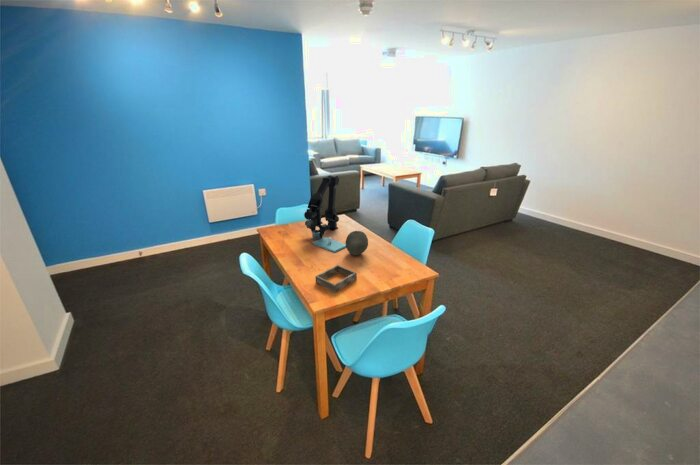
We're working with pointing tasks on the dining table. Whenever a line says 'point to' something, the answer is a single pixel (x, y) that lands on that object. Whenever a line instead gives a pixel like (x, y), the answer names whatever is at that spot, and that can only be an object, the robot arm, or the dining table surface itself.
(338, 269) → the frame
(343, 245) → the shaft base
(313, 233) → the block
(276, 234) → the dining table surface
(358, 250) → the dark grey ball
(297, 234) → the dining table surface
